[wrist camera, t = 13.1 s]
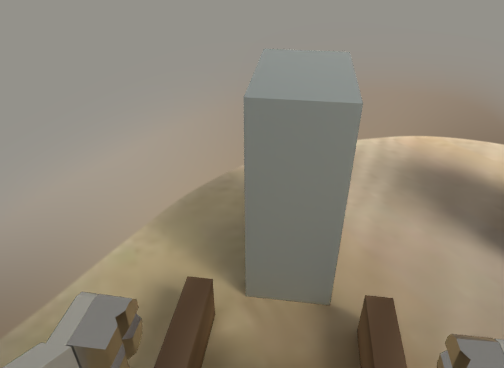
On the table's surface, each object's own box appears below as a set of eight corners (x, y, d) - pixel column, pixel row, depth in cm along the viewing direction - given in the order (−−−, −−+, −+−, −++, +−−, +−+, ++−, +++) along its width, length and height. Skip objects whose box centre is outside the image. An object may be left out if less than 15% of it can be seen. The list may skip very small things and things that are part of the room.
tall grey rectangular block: (326, 221, 26) (349, 52, 20) (329, 305, 21) (362, 103, 15) (260, 215, 27) (264, 48, 21) (245, 296, 21) (243, 97, 15)
